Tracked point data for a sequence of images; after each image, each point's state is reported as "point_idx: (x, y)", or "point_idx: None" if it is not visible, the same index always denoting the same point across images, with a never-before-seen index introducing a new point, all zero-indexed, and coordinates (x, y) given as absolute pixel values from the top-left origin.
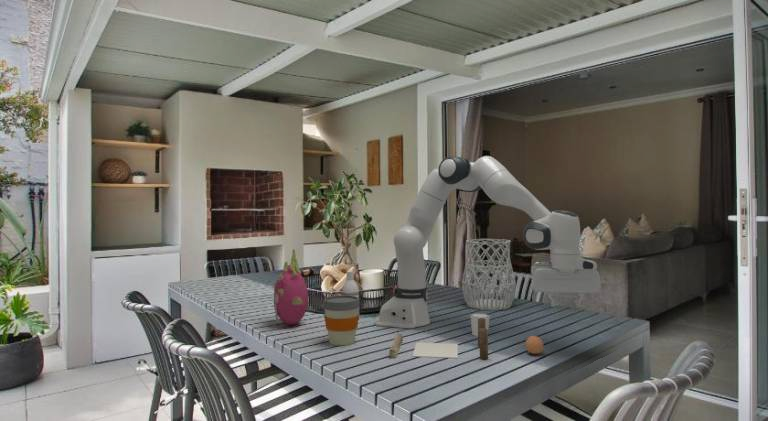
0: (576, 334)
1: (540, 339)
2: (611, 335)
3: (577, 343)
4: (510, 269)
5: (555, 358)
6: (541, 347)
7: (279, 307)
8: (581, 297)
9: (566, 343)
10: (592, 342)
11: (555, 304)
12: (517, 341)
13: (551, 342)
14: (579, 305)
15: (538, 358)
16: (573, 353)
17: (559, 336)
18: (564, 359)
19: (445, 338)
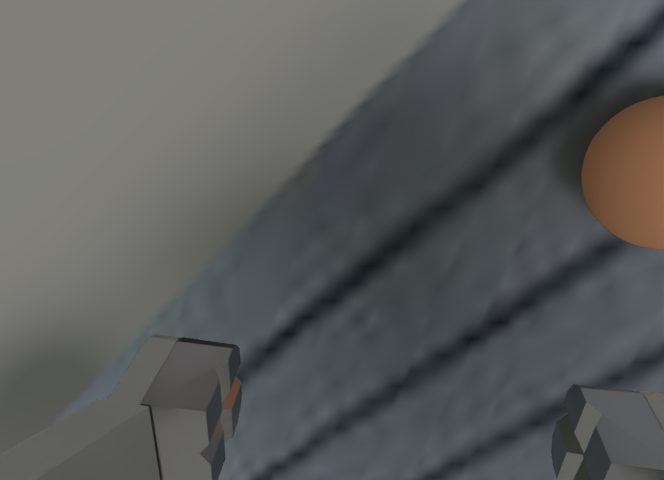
0: (226, 473)
1: (641, 173)
2: None
3: (257, 344)
4: None
5: (514, 39)
6: (630, 112)
7: None
8: (28, 470)
9: (323, 346)
10: None
11: (621, 410)
12: (631, 390)
13: (411, 365)
14: (159, 347)
15: (659, 32)
16: (337, 160)
17: (328, 452)
18: (450, 17)
19: None
